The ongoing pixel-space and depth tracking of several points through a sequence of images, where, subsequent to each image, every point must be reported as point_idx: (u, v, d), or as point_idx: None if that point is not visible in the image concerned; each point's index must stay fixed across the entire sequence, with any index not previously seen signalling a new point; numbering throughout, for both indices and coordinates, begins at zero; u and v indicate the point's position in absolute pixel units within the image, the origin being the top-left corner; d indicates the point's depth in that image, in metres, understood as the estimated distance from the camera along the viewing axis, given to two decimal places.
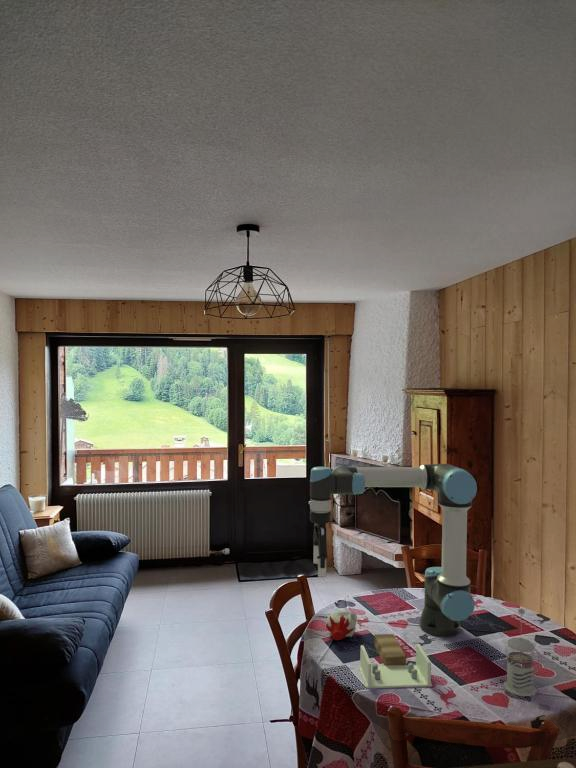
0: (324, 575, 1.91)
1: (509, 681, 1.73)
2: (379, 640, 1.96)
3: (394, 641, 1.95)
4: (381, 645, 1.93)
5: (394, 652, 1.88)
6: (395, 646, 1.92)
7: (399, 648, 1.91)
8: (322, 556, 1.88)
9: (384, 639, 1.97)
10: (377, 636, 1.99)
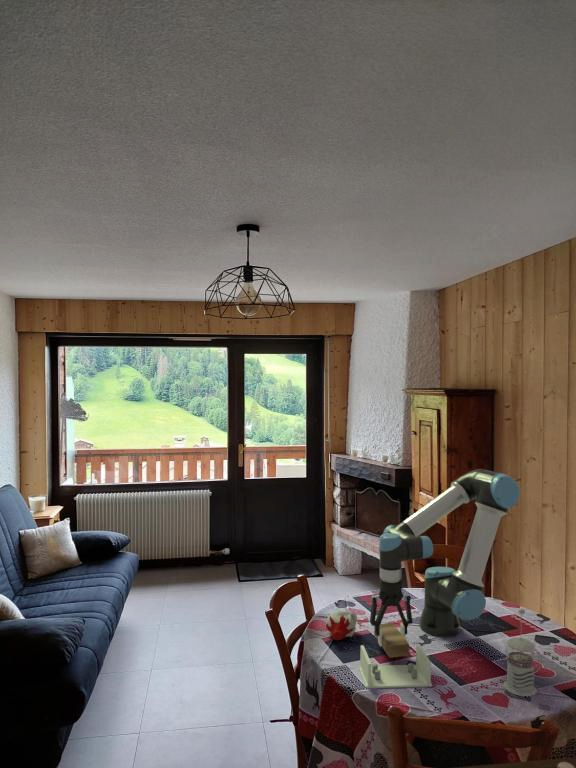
0: (379, 644, 1.92)
1: (509, 681, 1.73)
2: None
3: (394, 630, 1.96)
4: (383, 634, 1.93)
5: (397, 640, 1.88)
6: (397, 634, 1.93)
7: (401, 636, 1.91)
8: (370, 621, 1.93)
9: (384, 628, 1.97)
10: None
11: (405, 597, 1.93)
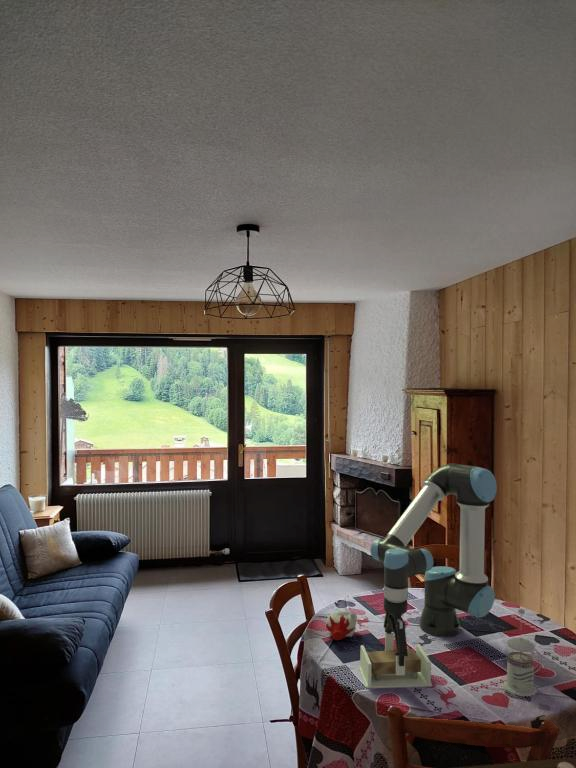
0: (403, 673, 1.72)
1: (509, 681, 1.73)
2: (386, 660, 1.76)
3: (385, 652, 1.81)
4: None
5: (408, 654, 1.80)
6: (394, 652, 1.81)
7: None
8: (402, 654, 1.69)
9: (382, 657, 1.77)
10: (377, 661, 1.75)
11: None
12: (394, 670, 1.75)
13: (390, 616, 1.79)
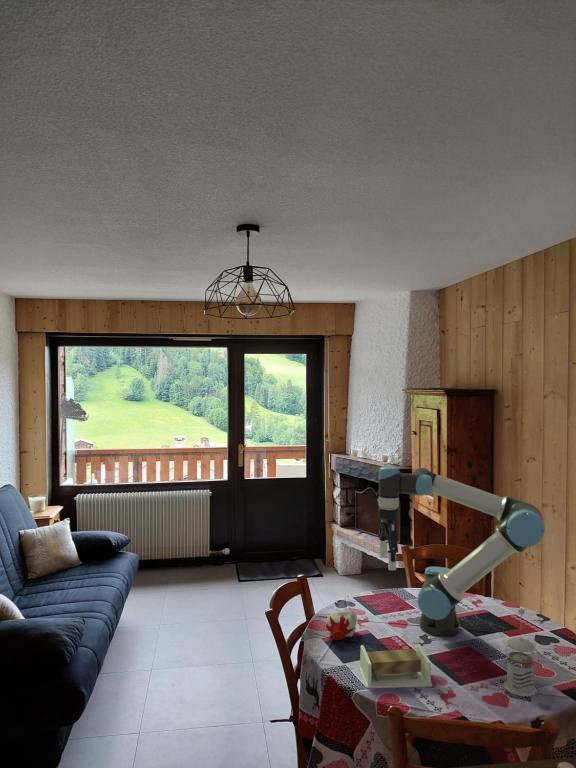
0: (394, 568, 2.02)
1: (509, 681, 1.73)
2: (386, 660, 1.76)
3: (385, 652, 1.81)
4: (397, 660, 1.76)
5: (408, 654, 1.80)
6: (394, 652, 1.81)
7: (398, 650, 1.82)
8: (393, 550, 1.99)
9: (382, 657, 1.77)
10: (377, 661, 1.75)
11: None
12: (394, 670, 1.75)
13: (384, 523, 2.09)
